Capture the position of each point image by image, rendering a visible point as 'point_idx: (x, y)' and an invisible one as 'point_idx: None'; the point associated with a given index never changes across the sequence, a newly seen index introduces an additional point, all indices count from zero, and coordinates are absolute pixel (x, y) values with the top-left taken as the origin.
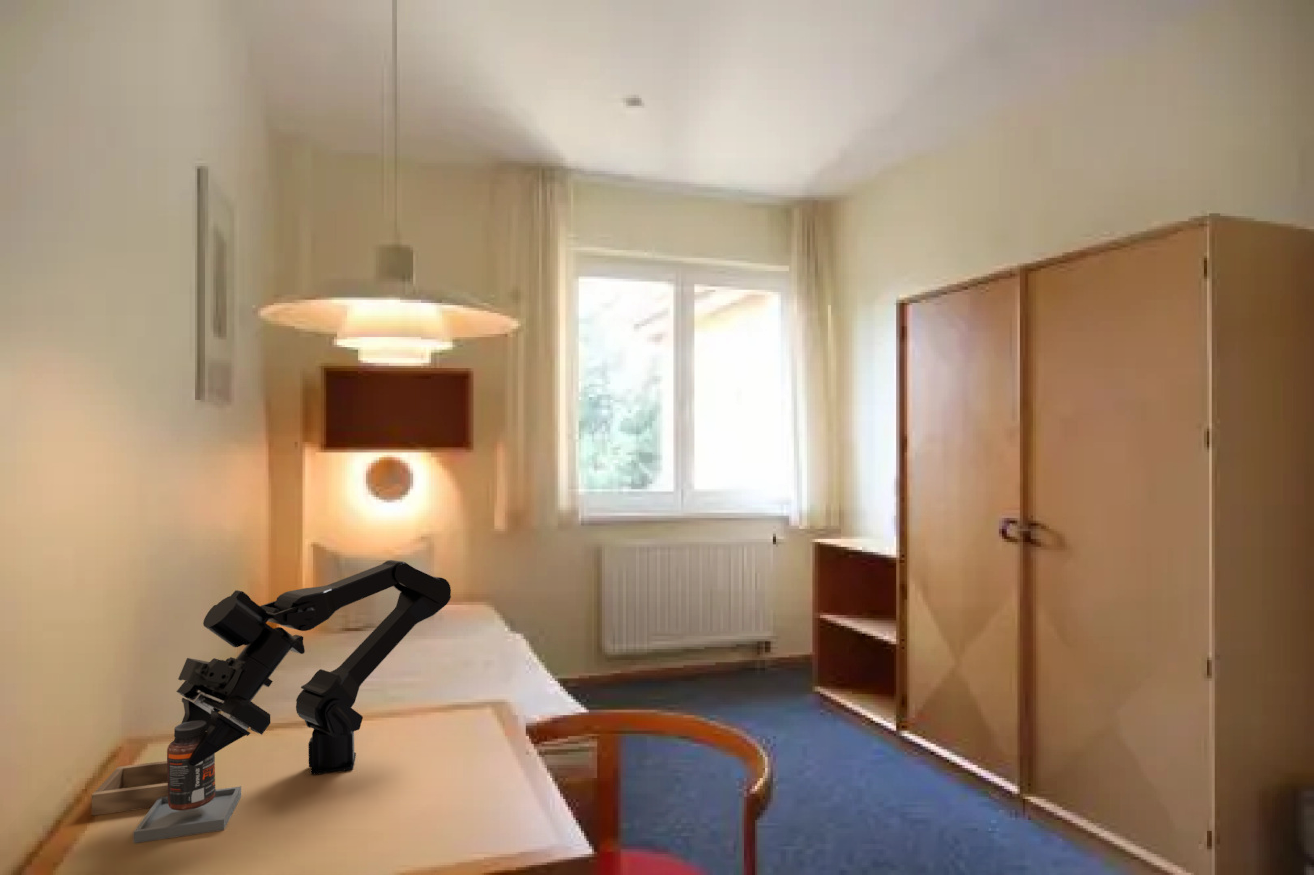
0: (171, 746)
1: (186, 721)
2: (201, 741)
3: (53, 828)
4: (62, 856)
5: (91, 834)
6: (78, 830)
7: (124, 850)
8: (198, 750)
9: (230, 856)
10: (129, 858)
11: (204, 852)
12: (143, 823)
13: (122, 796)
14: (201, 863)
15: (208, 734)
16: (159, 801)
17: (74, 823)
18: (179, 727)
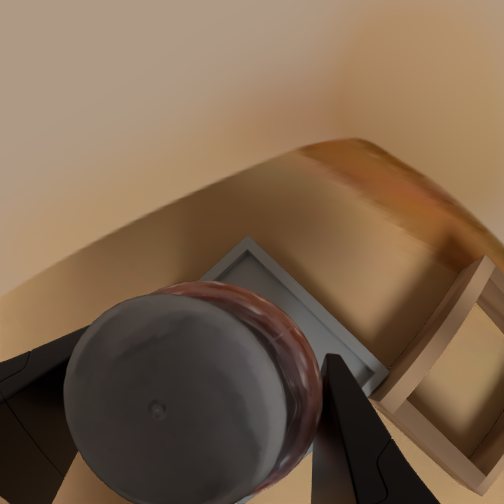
0: (214, 289)
1: (353, 482)
2: (52, 353)
3: (458, 209)
4: (325, 162)
5: (376, 226)
6: (416, 224)
7: (237, 221)
8: (71, 335)
9: (43, 295)
10: (196, 210)
11: (86, 286)
12: (270, 268)
13: (449, 306)
14: (65, 260)
15: (6, 366)
16: (363, 358)
17: (453, 236)
18: (191, 335)
